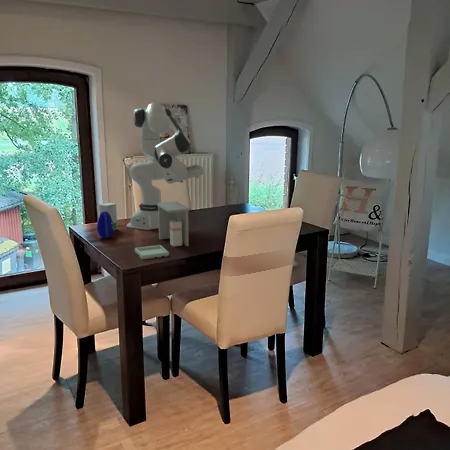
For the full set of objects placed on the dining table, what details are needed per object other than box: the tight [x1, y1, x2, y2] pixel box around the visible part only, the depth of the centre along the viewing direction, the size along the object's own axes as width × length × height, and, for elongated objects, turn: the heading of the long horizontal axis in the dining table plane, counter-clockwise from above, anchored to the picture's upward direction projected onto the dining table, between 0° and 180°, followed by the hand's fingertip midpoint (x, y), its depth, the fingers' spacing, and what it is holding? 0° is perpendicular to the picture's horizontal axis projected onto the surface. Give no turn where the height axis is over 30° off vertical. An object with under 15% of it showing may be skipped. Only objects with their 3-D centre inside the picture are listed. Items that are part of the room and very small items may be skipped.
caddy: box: [169, 217, 183, 247], centre depth 258 cm, size 5×5×14 cm
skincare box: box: [98, 202, 118, 231], centre depth 287 cm, size 8×7×16 cm
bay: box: [157, 201, 190, 247], centre depth 262 cm, size 11×20×20 cm, turn 25°
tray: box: [134, 244, 170, 260], centre depth 244 cm, size 14×14×2 cm
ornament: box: [96, 211, 115, 239], centre depth 271 cm, size 11×9×15 cm
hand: (190, 178), depth 260 cm, fingers open, 8 cm apart
